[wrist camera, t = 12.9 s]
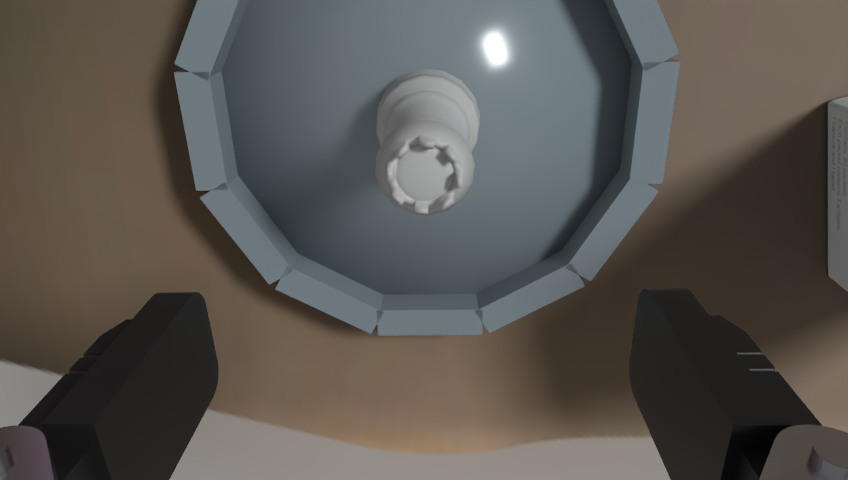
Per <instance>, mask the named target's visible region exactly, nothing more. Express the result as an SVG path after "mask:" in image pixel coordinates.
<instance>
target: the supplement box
mask: <svg viewBox="0 0 848 480" xmlns="http://www.w3.org/2000/svg"><path fill="white" fill-rule="evenodd" d="M828 275H829V277H830V278H831V279H833V280H834V281H835V282H836V283H837V284H839V285H840V286H841V287H842V288H843V289H845V290H846V291H847V292H848V96H847V97H843V98H839V99H835V100H832V101H830V102H829V103H828Z"/></svg>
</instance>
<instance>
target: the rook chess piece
mask: <svg viewBox="0 0 848 480" xmlns="http://www.w3.org/2000/svg"><path fill="white" fill-rule="evenodd" d="M479 126H480V114H479V110H478V106H477V103H476V99H475V97H474V95H473V94H472V93H471V91H470V90H469V89H468V88H467V86H466V85H465V84H464V83H463V81H462V80H460V79H458V78H456V77H454V76H452V75H450V74H449V73H447V72H445V71H442V70H431V69H420V70H417V71H413V72H410V73H407V74H404V75H402V76H401V77H399V78H398V79H397V80H396V81H395V82H394V83H393V84H391V85H390V86H389V87H388V88H387V89H386V91H385V93H384V95H383V97H382V99H381V101H380V103H379V105H378V107H377V122H376V134H377V137H378V140H379V143H380V146H381V147H380V149H379V151H378V153H377V155H376V169H375V174H376V177H377V180H378V183H379V186H380V188H381V191H382V192H383V193H384V194H385V196H386V197H387V198H388V199H389V200H390V201H391V202H392V203H393V204H394V205H395V206H397V207H399V208H401V209H403V210H405V211H407V212H409V213H411V214H417V215H432V214H436V213H439V212H443V211H447V210H449V209H450V208H451V207H453V206H454V205H455V204H457V203H458V202H459V201H461V200H462V199H463V198H464V196H465V195H466V193H467V191H468V189H469V188H470V186H471V184H472V183H473V175H474V167H475V163H474V159H473V156H472V151H473V149H474V147H475V145H476V144H477V142H478V134H479Z"/></svg>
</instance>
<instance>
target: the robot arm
mask: <svg viewBox="0 0 848 480" xmlns="http://www.w3.org/2000/svg"><path fill="white" fill-rule="evenodd" d="M630 381H631V387H632V391H633V394H634V397H635V399H636V402H637V404H638V406H639V408H640V411H641V413H642V415H643V418H644V420H645V422H646V424H647V427H648V429H649V431H650V433H651V436H652V438H653V440H654V443H655V445H656V447H657V449H658V452H659V454H660V456H661V458H662V460H663V463H664V465H665V467H666V470H667V472H668V474H669V477H670V479H671V480H848V433H846V432H844V431H840V430H837V429H834V428H830V427H825V426H822V425H821V424H820V422H819V421H818V420H817V419H816V418H815V416H814V415H813V414H812V413H811V411H810V410H809V409H808V408H807V407H806V405H805V404H804V403H803V402H802V400H801V399H800V398H799V397H798V396H797V394H796V393H795V392H794V391H793V389H792V388H791V387H790V386H789V385H788V383H787V382H786V381H785V380H784V378H783V377H782V376H781V375H780V374H779V372H775V368H774V366H773V365H772V364H771V363H770V361H769V360H768V359H767V358H766V357H765V355H762V354H761V350H760V349H759V348H758V347H757V346H756V344H755V343H754V342H753V341H752V339H751V338H750V337H749V336H748V335H747V333H746V332H744V331H743V330H741V329H740V328H738V327H737V326H735V325H734V324H732V323H730V322H729V321H727V320H726V319H724V318H723V317H721V316H709V315H708V314H707V313H706V311H705V310H704V309H703V307H702V306H701V305H700V303H699V302H698V301H697V299H696V298H695V297H694V295H693V294H692V293H691V292H690V290H688V289H643V290H642V292H641V293H640V296H639V300H638V306H637V313H636V320H635V328H634V335H633V342H632V349H631V357H630ZM217 382H218V361H217V356H216V351H215V346H214V342H213V337H212V332H211V327H210V322H209V317H208V312H207V308H206V303H205V300H204V298H203V296H202V295H201V294H200V293H197V292H190V293H156V294H155V295H153V296H152V297H151V299H150V300H149V301H148V302H147V303H146V304H145V305H144V307H143V308H142V309H141V310H140V311H139V312H138V313H137V315H136V316H135V317H134V318H133V319H132V320H125V321H124V322H122V323H120V324H119V325H117V326H115V327H114V328H112V329H111V330H109V331H107V332H106V333H104V334H103V335H101V336H100V337H99V338H98V339H97V340H96V341H95V342H94V344H93V345H92V346H91V347H90V348H89V349H88V350H87V351H86V352H85V353H84V357H83V358H80V359H79V360H78V361H77V362H76V363H75V364H74V365H73V366H72V367H71V368H70V372H69V374H65V375H64V376H63V377H62V378H61V379H60V380H59V381H58V383H57V384H56V385H55V386H54V387H53V388H52V389H51V390H50V391H49V392H48V393H47V395H46V396H45V397H44V398H43V399H42V400H41V401H40V402H39V403H38V404H37V406H35V408H34V409H33V410H32V411H31V412H30V413H29V414H28V415H27V416H26V417H25V418H24V419H23V421H22V422H21V423H20V424H19V425H18V426H8V427H2V428H0V480H169V479H170V477H171V475H172V473H173V472H174V470H175V468H176V466H177V464H178V462H179V460H180V458H181V457H182V455H183V453H184V451H185V449H186V447H187V445H188V443H189V441H190V440H191V437H192V436H193V434H194V432H195V430H196V428H197V426H198V424H199V423H200V421H201V419H202V417H203V415H204V413H205V411H206V410H207V408H208V406H209V404H210V402H211V400H212V398H213V396H214V394H215V391H216V387H217Z"/></svg>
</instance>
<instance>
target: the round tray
mask: <svg viewBox="0 0 848 480" xmlns="http://www.w3.org/2000/svg"><path fill="white" fill-rule="evenodd" d="M678 53H679V51H678V49H677V47H676V44H675V42H674V39H673V37H672V35H671V32H670V30H669V28H668V25H667V23H666V21H665V18H664V16H663V13H662V11H661V9H660V6H659V4H658V2H657V0H197V2H196V5H195V8H194V11H193V13H192V16H191V19H190V22H189V25H188V27H187V30H186V33H185V36H184V38H183V41H182V44H181V47H180V50H179V52H178V55H177V58H176V61H175V63H174V64H176V65H178V66H179V67H181V68H183V69H181V70H179V71H176V72H174V76H175V82H176V87H177V92H178V98H179V103H180V108H181V113H182V119H183V124H184V129H185V134H186V140H187V145H188V150H189V156H190V161H191V166H192V171H193V177H194V182H195V187H196V191H206V192H205V193H204V194H203V195H202V196H201V197H200V199H201V200H202V202H203V203H204V204H205V205H206V207H207V208H208V209H209V210H210V212H211V213H212V214H213V215H214V217H215V218H216V219H217V220H218V222H219V223H220V224H221V225H222V226H223V228H224V229H225V230H226V231H227V233H228V234H229V235H230V236H231V238H232V239H233V240H234V241H235V243H236V244H237V245H238V246H239V248H240V249H241V250H242V251H243V253H244V254H245V255H246V256H247V258H248V259H249V260H250V261H251V263H252V264H253V265H254V266H255V268H256V269H257V270H258V271H259V273H260V274H261V275H262V276H263V278H264V279H265V280H266V281H267V283H268V284H269V285H270V284H272V283H273V282H275V281H277V280H279V279H280V278H281V279H280V281H279V283H278V285H277V287H276V289H275V290H278V291H280V292H282V293H284V294H286V295H288V296H290V297H293V298H295V299H297V300H299V301H301V302H303V303H305V304H308V305H310V306H312V307H314V308H316V309H318V310H320V311H323V312H325V313H327V314H329V315H331V316H333V317H335V318H338V319H340V320H342V321H344V322H346V323H348V324H350V325H353V326H355V327H357V328H359V329H361V330H363V331H365V332H368V333H370V334H371V333H372V332H373V330H374V328H375V327H376V325H377V326H378V336H394V335H482V323H483V324H484V326H485V327H486V329H487V330H488V332H489V333H491V332H493V331H495V330H497V329H499V328H501V327H503V326H505V325H507V324H509V323H511V322H513V321H515V320H517V319H519V318H521V317H523V316H525V315H527V314H529V313H531V312H534V311H536V310H538V309H540V308H542V307H544V306H546V305H548V304H550V303H552V302H554V301H556V300H558V299H560V298H562V297H564V296H566V295H568V294H570V293H572V292H574V291H576V290H578V289H580V288H582V287H585V285H584V283H583V281H582V278H581V276H582V277H583V278H585V279H587V280H589V281H592V279H593V278H594V277H595V275H596V274H597V273H598V271H599V270H600V269H601V267H602V266H603V265H604V264H605V262H606V261H607V260H608V258H609V257H610V256H611V254H612V253H613V252H614V250H615V249H616V248H617V246H618V245H619V244H620V242H621V241H622V240H623V238H624V237H625V236H626V234H627V233H628V232H629V230H630V229H631V228H632V226H633V225H634V224H635V222H636V221H637V220H638V219H639V217H640V216H641V215H642V213H643V212H644V211H645V209H646V208H647V207H648V205H649V204H650V203H651V201H652V200H653V199H654V197H655V196H656V195H657V193H658V192H659V190H658V189H657V188H656V187H655V186H654V185H653V184H662V183H663V176H664V170H665V163H666V156H667V149H668V142H669V135H670V128H671V122H672V115H673V108H674V101H675V94H676V87H677V81H678V74H679V67H680V62H679V61H677V60H674V59H672V58H671V57H673V56H675V55H676V54H678ZM420 69H431V70H442V71H445V72H447V73H449V74H450V75H452V76H454V77H456V78H458V79H460V80H462V81H463V83H464V84H465V85H466V86H467V88H468V89H469V90H470V91H471V93H472V94H473V95H474V97H475V99H476V103H477V106H478V110H479V114H480V126H479V134H478V142H477V144H476V145H475V147H474V149H473V151H472V156H473V159H474V163H475V167H474V175H473V183H472V184H471V186H470V188H469V189H468V191H467V193H466V195H465V196H464V198H463V199H462V200H461V201H459V202H458V203H457V204H455V205H454V206H453V207H451V208H450V209H449V210H447V211H443V212H439V213H436V214H432V215H417V214H411V213H409V212H407V211H405V210H403V209H401V208H399V207H397V206H395V205H394V204H393V203H392V202H391V201H390V200H389V199H388V198H387V197H386V196H385V194H384V193H383V192H382V191H381V188H380V186H379V183H378V180H377V177H376V174H375V169H376V155H377V153H378V151H379V149H380V147H381V146H380V143H379V140H378V137H377V134H376V122H377V107H378V105H379V103H380V101H381V99H382V97H383V95H384V93H385V91H386V89H387V88H388V87H389V86H390V85H391V84H393V83H394V82H395V81H396V80H397V79H398V78H399V77H401V76H402V75H404V74H407V73H410V72H413V71H417V70H420Z"/></svg>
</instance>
